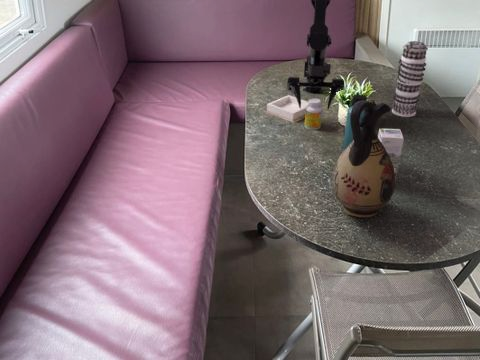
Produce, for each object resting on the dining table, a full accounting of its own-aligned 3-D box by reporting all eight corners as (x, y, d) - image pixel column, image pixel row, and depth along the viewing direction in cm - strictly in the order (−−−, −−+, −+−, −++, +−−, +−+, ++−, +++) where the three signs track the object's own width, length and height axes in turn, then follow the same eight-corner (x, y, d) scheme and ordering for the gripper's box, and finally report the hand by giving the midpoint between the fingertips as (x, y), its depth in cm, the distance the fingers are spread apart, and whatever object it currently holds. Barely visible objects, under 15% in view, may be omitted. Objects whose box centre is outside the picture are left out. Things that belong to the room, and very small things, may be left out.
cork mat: (288, 101, 191) (288, 100, 191) (318, 112, 182) (318, 111, 182) (263, 112, 182) (263, 111, 182) (294, 124, 174) (294, 122, 174)
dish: (288, 102, 189) (288, 95, 187) (313, 111, 182) (314, 103, 180) (266, 111, 182) (267, 104, 180) (292, 121, 175) (293, 113, 173)
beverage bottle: (363, 164, 150) (372, 101, 140) (340, 162, 151) (348, 99, 141) (363, 154, 155) (372, 92, 145) (341, 152, 157) (348, 91, 146)
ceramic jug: (354, 185, 140) (369, 82, 124) (402, 209, 130) (424, 100, 114) (312, 207, 131) (322, 99, 115) (359, 235, 121) (377, 121, 105)
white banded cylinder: (389, 115, 180) (401, 45, 167) (391, 105, 187) (402, 38, 174) (416, 118, 177) (430, 48, 164) (417, 108, 185) (430, 40, 172)
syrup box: (392, 173, 145) (400, 127, 138) (395, 184, 140) (404, 137, 133) (371, 172, 146) (379, 127, 138) (374, 183, 141) (382, 136, 133)
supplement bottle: (302, 128, 171) (303, 101, 166) (307, 122, 175) (309, 96, 170) (317, 131, 169) (319, 104, 164) (322, 125, 173) (325, 99, 168)
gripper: (289, 53, 164) (285, 97, 161) (347, 55, 162) (345, 100, 159) (288, 68, 175) (285, 110, 171) (343, 70, 173) (341, 113, 169)
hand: (314, 108), depth 167 cm, fingers open, 9 cm apart
